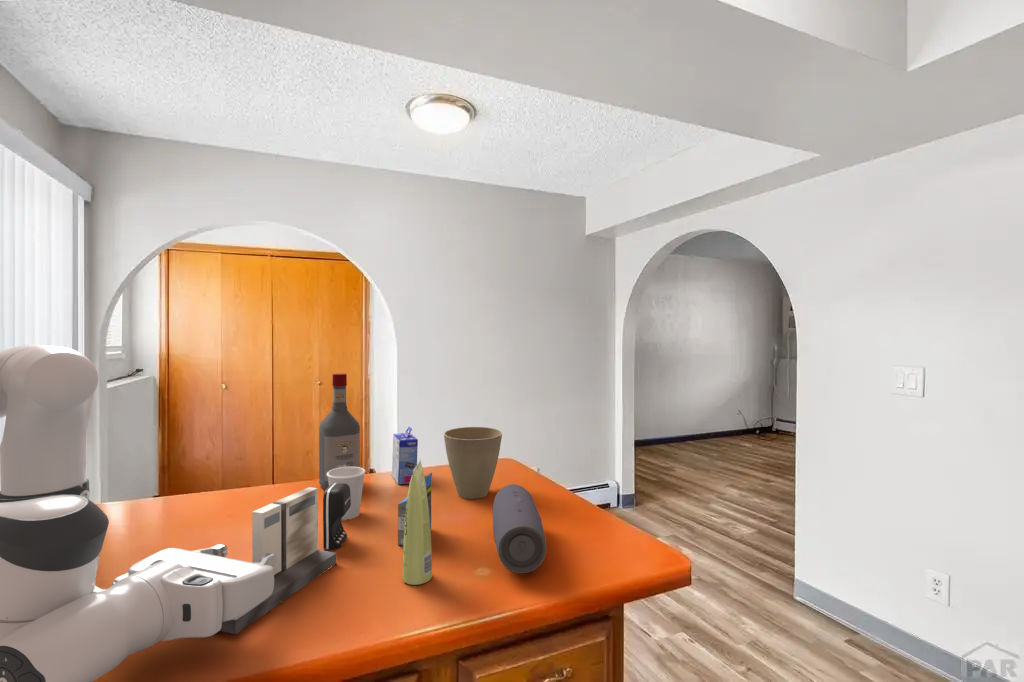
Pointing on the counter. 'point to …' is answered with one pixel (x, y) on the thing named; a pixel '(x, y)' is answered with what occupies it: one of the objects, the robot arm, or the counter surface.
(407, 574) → the tube
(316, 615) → the counter surface
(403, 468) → the ink cartridge box
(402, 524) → the label tape cartridge
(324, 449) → the liquor
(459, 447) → the plant pot
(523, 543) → the bluetooth speaker
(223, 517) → the counter surface
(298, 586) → the ticket holder
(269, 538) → the white tall block
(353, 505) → the dixie cup
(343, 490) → the battery charger
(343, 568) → the counter surface
